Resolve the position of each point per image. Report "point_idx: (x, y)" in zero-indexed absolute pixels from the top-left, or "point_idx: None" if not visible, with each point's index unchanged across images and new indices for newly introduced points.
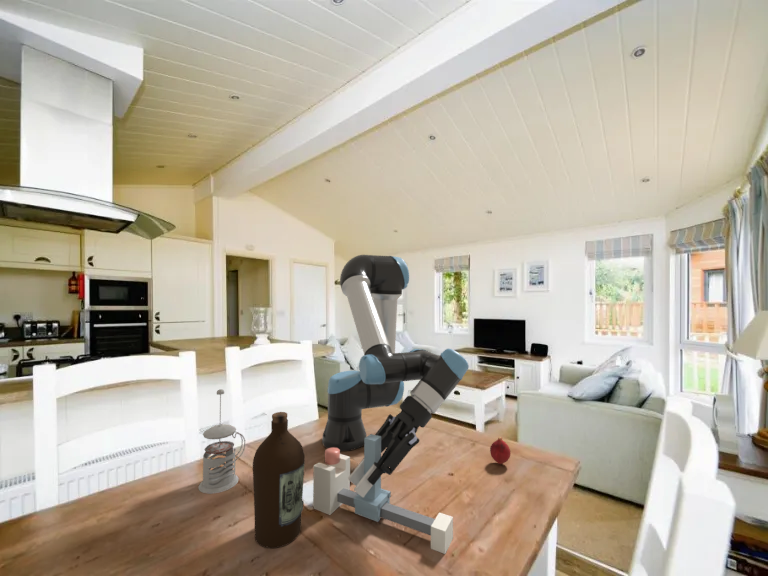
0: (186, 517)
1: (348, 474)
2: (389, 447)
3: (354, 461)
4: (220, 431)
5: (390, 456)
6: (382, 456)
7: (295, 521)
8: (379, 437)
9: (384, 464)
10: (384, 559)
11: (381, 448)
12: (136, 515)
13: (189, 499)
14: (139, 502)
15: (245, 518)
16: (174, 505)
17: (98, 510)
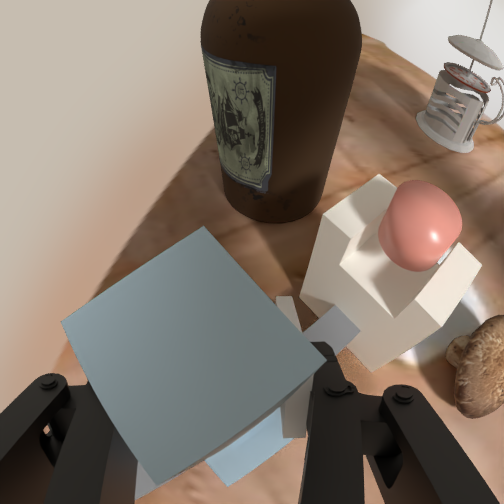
0: (355, 96)
1: (398, 344)
2: (62, 491)
3: (496, 390)
4: (464, 40)
5: (8, 431)
6: (99, 422)
7: (230, 179)
8: (123, 437)
9: (39, 389)
10: (79, 370)
11: (299, 498)
12: (367, 69)
13: (400, 101)
14: (394, 72)
15: (337, 146)
16: (386, 90)
17: (380, 55)
